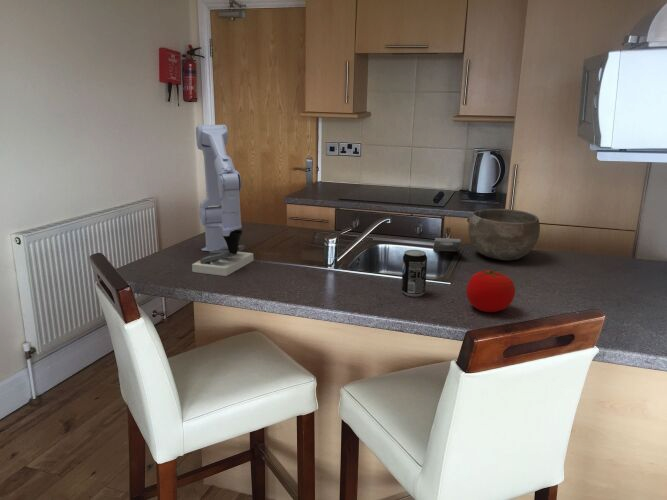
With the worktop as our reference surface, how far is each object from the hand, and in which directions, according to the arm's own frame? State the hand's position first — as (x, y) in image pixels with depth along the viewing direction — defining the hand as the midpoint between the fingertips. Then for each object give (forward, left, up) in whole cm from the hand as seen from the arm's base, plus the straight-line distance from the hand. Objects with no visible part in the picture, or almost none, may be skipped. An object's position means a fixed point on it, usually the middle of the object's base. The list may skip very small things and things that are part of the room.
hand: (233, 253), depth 176 cm
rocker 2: (0, -4, -1) cm, 4 cm away
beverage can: (+4, +59, -5) cm, 59 cm away
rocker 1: (+5, -4, -1) cm, 7 cm away
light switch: (-38, +62, -5) cm, 73 cm away
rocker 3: (-6, -4, -1) cm, 7 cm away
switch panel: (0, -4, -5) cm, 6 cm away
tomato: (+9, +80, -5) cm, 81 cm away
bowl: (-44, +80, -5) cm, 92 cm away
